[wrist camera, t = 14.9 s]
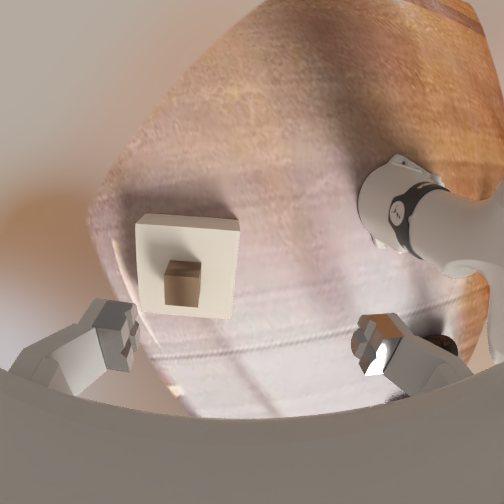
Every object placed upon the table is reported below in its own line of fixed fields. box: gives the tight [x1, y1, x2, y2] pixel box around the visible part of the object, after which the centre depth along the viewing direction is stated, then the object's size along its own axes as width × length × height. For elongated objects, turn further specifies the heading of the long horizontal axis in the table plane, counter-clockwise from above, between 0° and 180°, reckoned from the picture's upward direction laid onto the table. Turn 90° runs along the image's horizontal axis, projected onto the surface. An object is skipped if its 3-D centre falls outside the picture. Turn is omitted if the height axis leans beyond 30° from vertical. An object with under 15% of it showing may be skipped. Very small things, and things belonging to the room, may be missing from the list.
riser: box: [135, 213, 240, 319], centre depth 45 cm, size 16×16×6 cm
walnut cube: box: [164, 260, 202, 308], centre depth 40 cm, size 5×5×5 cm
